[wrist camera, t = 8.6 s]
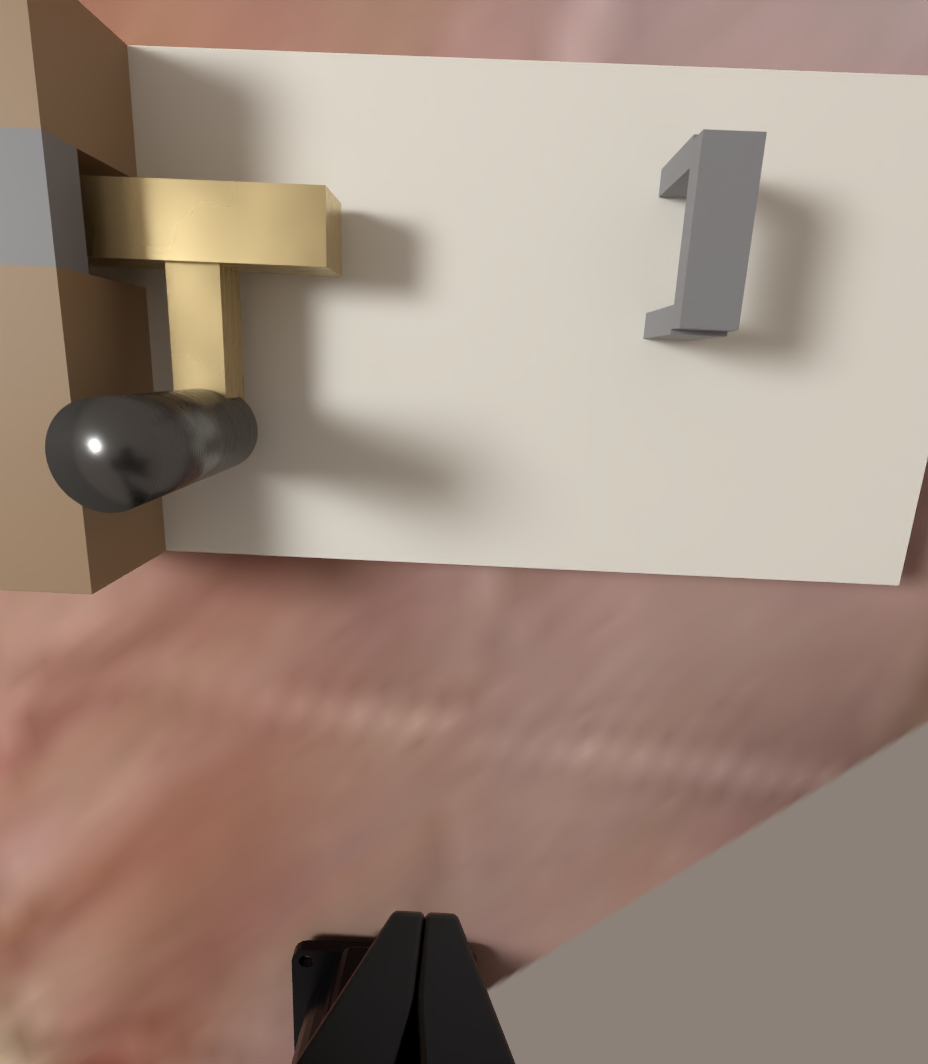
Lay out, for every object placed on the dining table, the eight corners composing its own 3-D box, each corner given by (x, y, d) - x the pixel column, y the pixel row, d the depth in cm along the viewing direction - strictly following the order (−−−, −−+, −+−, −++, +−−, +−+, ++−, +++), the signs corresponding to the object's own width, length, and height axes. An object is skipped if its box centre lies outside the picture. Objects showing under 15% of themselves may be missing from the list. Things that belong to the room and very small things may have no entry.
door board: (857, 563, 19) (1000, 638, 14) (66, 526, 20) (-86, 585, 14) (949, 112, 16) (1175, -9, 11) (14, 76, 17) (-204, -59, 11)
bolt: (342, 470, 17) (278, 520, 11) (-41, 453, 17) (-284, 494, 11) (341, 203, 15) (265, 115, 10) (-83, 186, 15) (-386, 89, 10)
